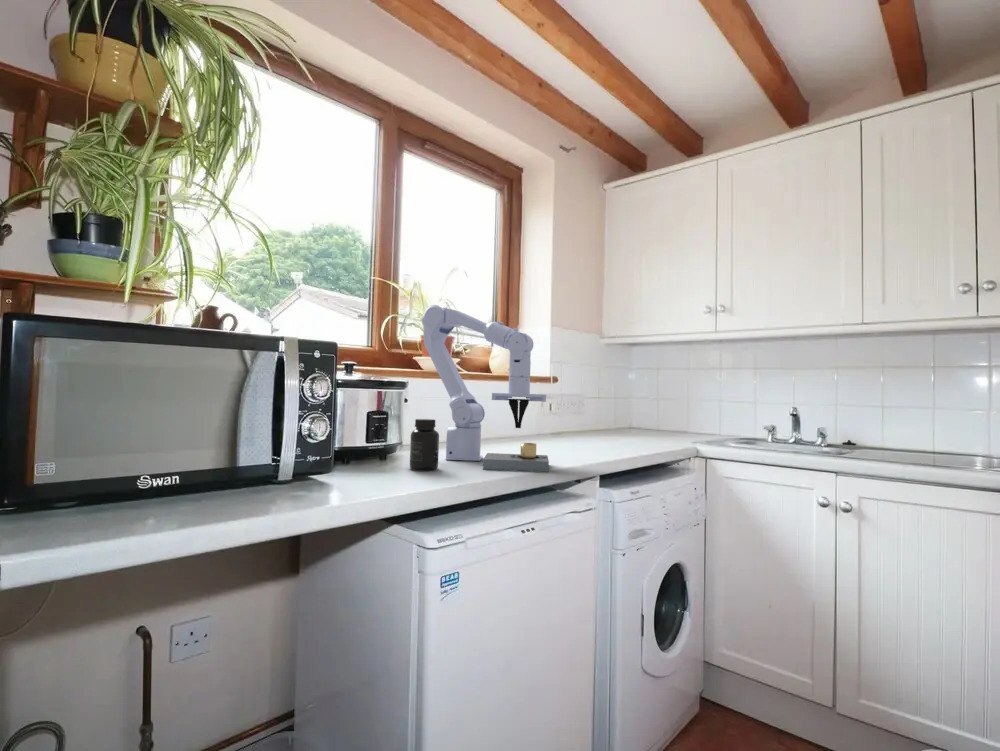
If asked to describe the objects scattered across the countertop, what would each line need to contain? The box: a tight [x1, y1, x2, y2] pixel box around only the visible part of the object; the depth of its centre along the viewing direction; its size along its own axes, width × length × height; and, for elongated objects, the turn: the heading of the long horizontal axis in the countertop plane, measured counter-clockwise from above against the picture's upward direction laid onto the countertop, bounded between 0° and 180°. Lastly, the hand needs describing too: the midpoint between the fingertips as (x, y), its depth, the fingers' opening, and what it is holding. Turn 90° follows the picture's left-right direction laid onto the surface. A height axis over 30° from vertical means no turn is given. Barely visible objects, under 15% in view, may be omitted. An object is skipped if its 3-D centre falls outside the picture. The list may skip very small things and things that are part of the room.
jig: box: [482, 452, 550, 473], centre depth 134 cm, size 16×12×2 cm
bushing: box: [520, 442, 537, 459], centre depth 134 cm, size 4×4×6 cm
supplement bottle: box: [409, 418, 440, 472], centre depth 126 cm, size 7×7×12 cm
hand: (518, 427), depth 141 cm, fingers closed
